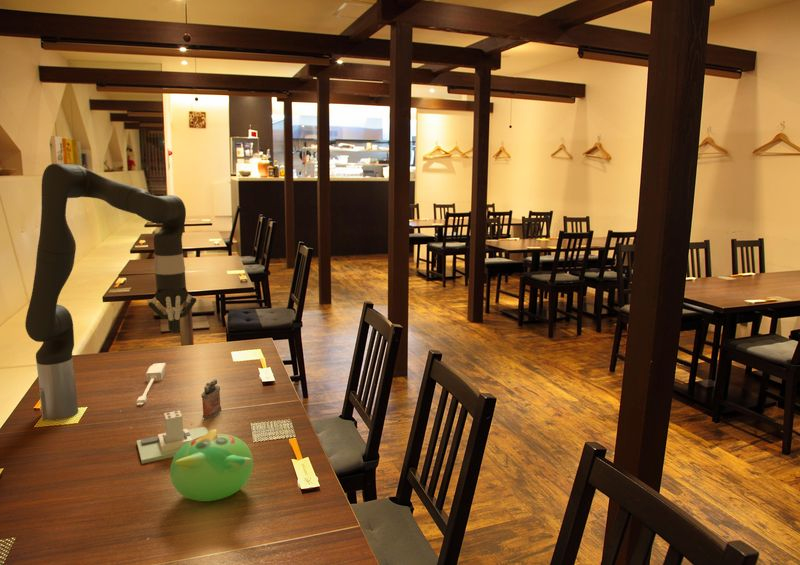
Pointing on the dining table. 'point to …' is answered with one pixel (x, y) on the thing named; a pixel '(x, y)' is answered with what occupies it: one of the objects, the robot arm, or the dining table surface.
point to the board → (165, 445)
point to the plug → (173, 426)
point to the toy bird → (211, 467)
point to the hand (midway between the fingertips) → (174, 332)
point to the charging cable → (152, 379)
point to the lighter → (211, 400)
